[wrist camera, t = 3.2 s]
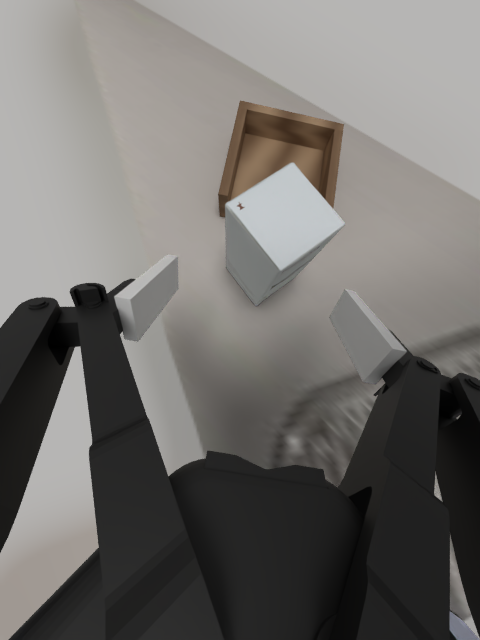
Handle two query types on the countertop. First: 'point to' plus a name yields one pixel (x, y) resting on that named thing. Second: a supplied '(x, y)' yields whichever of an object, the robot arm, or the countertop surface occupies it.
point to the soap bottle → (460, 629)
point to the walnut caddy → (280, 150)
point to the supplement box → (276, 231)
